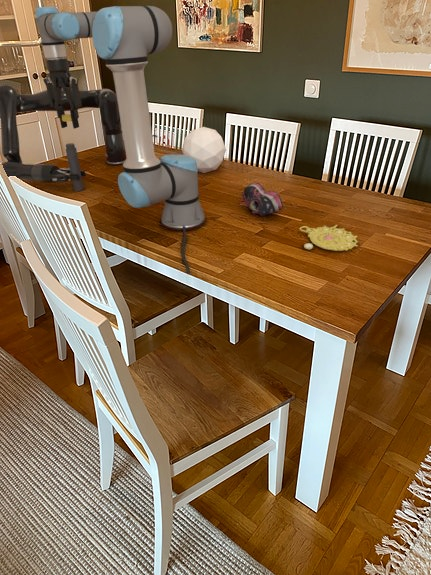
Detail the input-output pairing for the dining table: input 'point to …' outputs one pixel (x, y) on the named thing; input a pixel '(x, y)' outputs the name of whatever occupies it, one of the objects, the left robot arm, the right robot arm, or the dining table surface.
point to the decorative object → (330, 238)
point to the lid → (66, 117)
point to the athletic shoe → (261, 200)
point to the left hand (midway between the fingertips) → (82, 175)
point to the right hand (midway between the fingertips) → (70, 127)
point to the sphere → (204, 148)
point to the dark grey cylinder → (74, 166)
